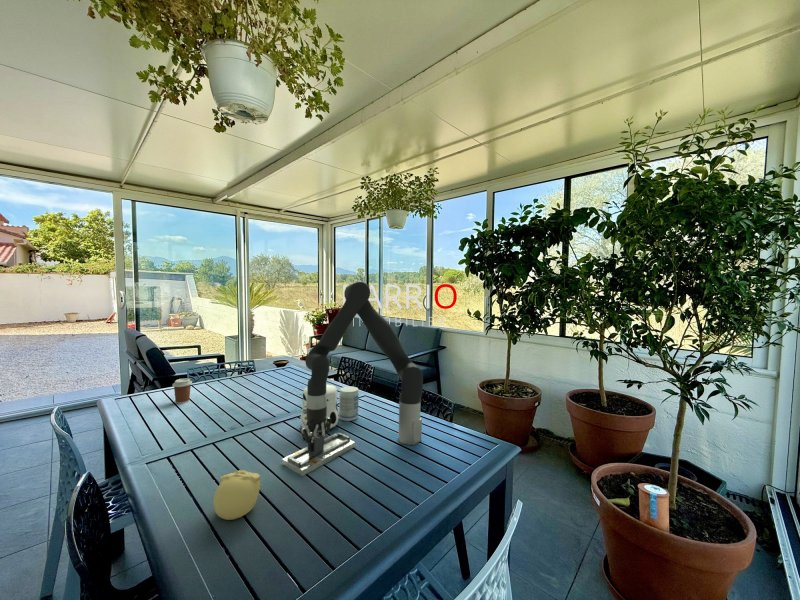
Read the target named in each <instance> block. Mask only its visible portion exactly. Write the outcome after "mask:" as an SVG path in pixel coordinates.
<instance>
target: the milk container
mask: <svg viewBox="0 0 800 600" xmlns="http://www.w3.org/2000/svg"><path fill="white" fill-rule="evenodd" d="M307 389H308V386H306V387H304V389H303V391H302V410H301V413H300V424H301V427H302V428H304V427H305V426H306V424H307V417H306V412H307ZM326 396H327V416H326V417H328V418H331V419H332V421H331V425H330V429H329V431H330V430H332V429H334V428H335V427H336V426H337V424H338V422H339V418H340V417H339V409H338V405H337V404H338V391H337V387H336V386H334V385H332V384H328V383H326ZM326 429H327V427H326Z"/></svg>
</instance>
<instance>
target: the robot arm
mask: <svg viewBox="0 0 800 600" xmlns="http://www.w3.org/2000/svg"><path fill="white" fill-rule="evenodd" d="M343 293H344V298H345V300H344V303H343V305H342V307H341V308H340V309H339V312H338V313H336V315H335V317H334V318H333V319H332V320H331V322H330V323H329V324H328V326H327V328H326V329H325V330H324V332H323V334H322V336H321V337H320V339H319V341H318V342H317V343H316V344H314V346H313V347H312V349H311V350H310V351H309V352H308V354H307V356H306V357H305V366H306V368H307V369H308V370H310V371H311V376H310V378H309V379H308V381H307V387H308V389H307V412H306V417H307V424H306V426H305V427H304V428H303V427H302V426H301V427H300V428H299V431H300V435H301V438H302V441H303V442H305V443H306V444H307V447H308V450H309V451H310V452H313V451H314V438H315V436H316V434H320V435H322V436H324V438H326V435H329V433H330V430H331V429H330V425H331V421H332V419H331V418H328V417H326V416H327V396H326V384H327V380H328V377H329V374H330V372H329V371H330V367H331V366H330V360H329V358H328V357H327V356H328V355H329V353H330V352H333V351H335V350H336V349H337V347H338V345H339V344H340V342H341V340H342V338H343V337H344V336H345V333H346V331H347V330H348V328H349V326H350V325H351V323H352V321H353V320H354V318H355V317H356V315H357V316H358V317H359V319H361V321H362V323H363V324H364V326H365V329H367V331H368V332H369V334H370V336H371V338H372V339H373V340H374V342H375V344H376V345H377V346H378V348H379V349H380V350H381V352H383V354H384V355H385V356H386V357H387V358H388V359H389V361H390V362H391V364H392V365H393V368H394V370H395V371H396V373H397V375H398V378H399V380H401V392H400V393H399V403H398V405H399V407H398V409H399V410H398V442H400V443H401V444H404V445H407V446H408V445H409V446H410V445H412V446H415V445H417V444H418V443H419V442H421V441H422V433H423V431H422V430H423V427H422V426H423V422H422V421H423V419H422V418H421V400H422V399H421V398H422V395H423V387H424V385H423V384H424V375H423V371H422V370H421V368H420V367H418V365H416V364H415V363H414V362H413V361H412V360H411V359H410V357H409V356H408V355H407V353H406V352H405V350H404V348H403V346H402V343H401V342H400V339H399V336H398V334H397V333H396V331H395V330H394V328H393V327H392V325H391V324H390V322H388V321H387V319H386V318H385V317H383V315H381V314H380V312H378V311H377V310H376V309H375V308H374V307H373V305H372V304H371V301H370V300H369V299H370V296H371V289H370V287H369V285H368V284H367V283H366V282H365V281H355V282H353V283H349V285H347V286H346V287H345V289H344V292H343ZM326 427H327V429H326ZM329 429H330V430H329Z"/></svg>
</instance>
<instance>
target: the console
mask: <svg viewBox="0 0 800 600" xmlns="http://www.w3.org/2000/svg"><path fill="white" fill-rule="evenodd" d="M355 447H356V441H354V440H351V437H350V436H348V435H346V434H343V433H342V432H337V433H334V434H331V435H329V436H327V437H324V451H322V452H321V453H319V454H317V455H315V456H314V455H312V454H310V453H309V450H308V446H306V447H304V448H302V449H299V450H298V451H295V452H294V453H291V454H290V455H287V456H285V457H284V458H281V465H283V466H285V467H286V468H288V469H289V470H292V471H293V472H295V473H296V474H298V475H300V476H301V477H303V476H306V475H308V474H309V473H310V472H312V471H314V470H316V469H318V468H320V467H321V466H323V465H326V464H327V463H328V462H331V461H333V460H335V459H336V458H338V457H339V456H342V455H344V453H347V452H348V451H350V450H352V449H354V448H355Z"/></svg>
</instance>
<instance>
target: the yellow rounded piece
mask: <svg viewBox="0 0 800 600" xmlns="http://www.w3.org/2000/svg"><path fill="white" fill-rule="evenodd" d="M261 478H262V476H261V474H259V473H256V472H250V471H247V470H245V469H239V470H237V471H235V472H232V473H228V474H225V475H222V476H221V477H220V483H219V485H218V486H217V488H216V490H215V493H214V497H213V502H212V503H213V509H214V512H215V514H216V515H217V516H218V517H219V518H221V519H223V520H228V521H231V520H237V519H239V518H242V517H243V516H245V515H247V514H248V513H249V512H250V511H251V510H252V509H253V508H254V506H255V505H256V503H257V500H258V497H259V494H260V489H261Z"/></svg>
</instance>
